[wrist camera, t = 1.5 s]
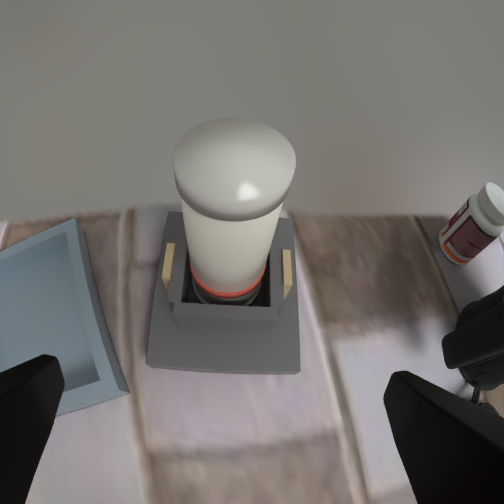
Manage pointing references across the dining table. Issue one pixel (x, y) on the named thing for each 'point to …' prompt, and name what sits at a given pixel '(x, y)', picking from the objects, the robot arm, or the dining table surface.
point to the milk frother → (479, 345)
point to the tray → (58, 315)
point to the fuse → (231, 204)
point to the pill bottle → (474, 225)
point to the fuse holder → (225, 314)
